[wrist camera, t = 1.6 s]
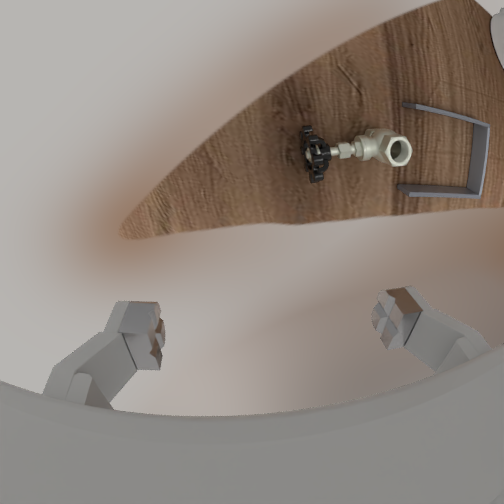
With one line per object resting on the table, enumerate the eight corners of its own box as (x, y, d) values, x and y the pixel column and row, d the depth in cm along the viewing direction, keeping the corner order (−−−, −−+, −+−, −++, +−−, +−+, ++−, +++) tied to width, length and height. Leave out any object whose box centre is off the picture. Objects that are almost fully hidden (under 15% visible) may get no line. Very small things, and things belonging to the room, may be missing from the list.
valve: (385, 115, 29) (295, 123, 29) (413, 121, 23) (309, 129, 24) (388, 163, 32) (304, 175, 33) (414, 178, 26) (318, 192, 27)
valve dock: (476, 120, 27) (490, 124, 25) (468, 191, 34) (480, 198, 31) (402, 102, 27) (416, 103, 24) (397, 188, 34) (408, 196, 31)
